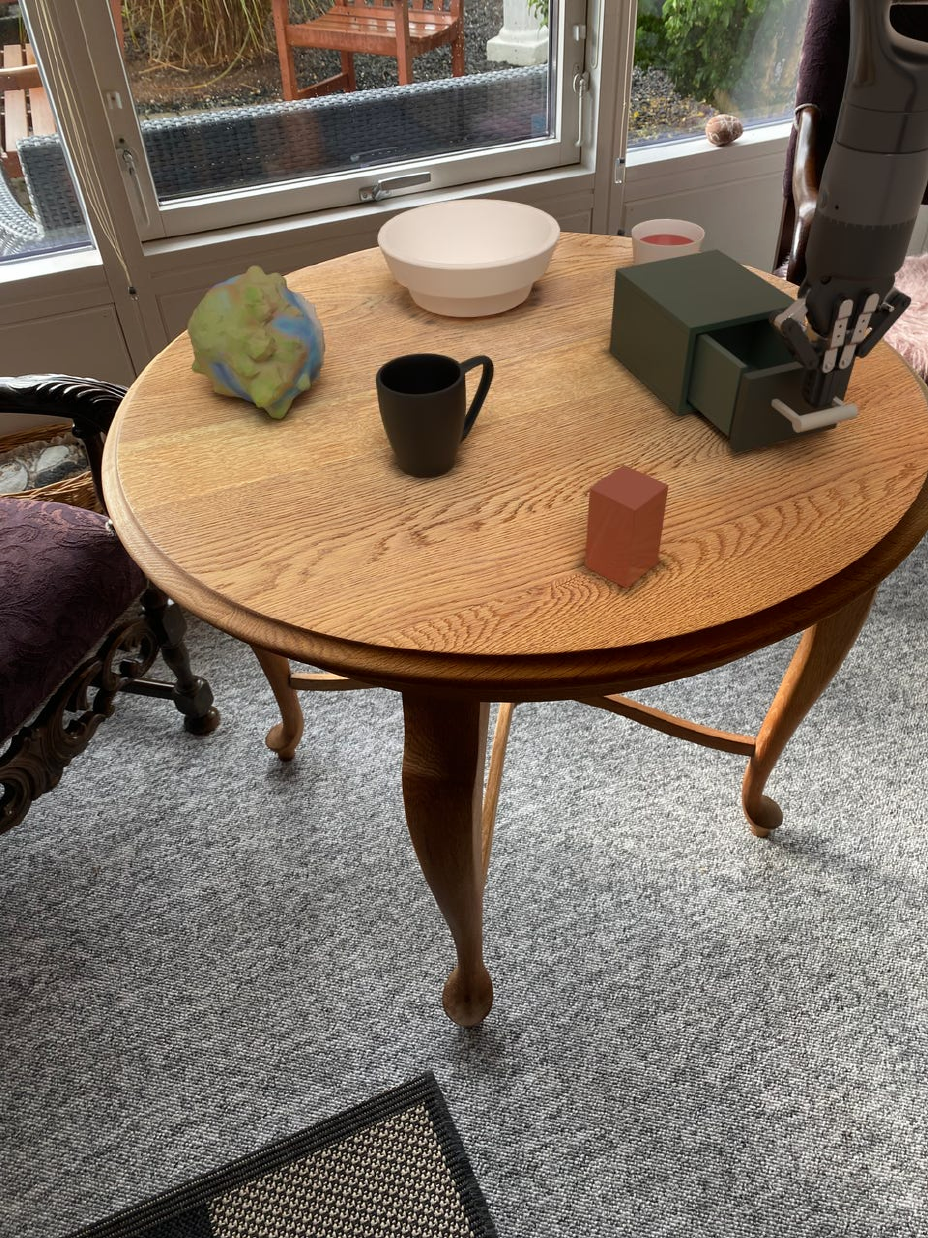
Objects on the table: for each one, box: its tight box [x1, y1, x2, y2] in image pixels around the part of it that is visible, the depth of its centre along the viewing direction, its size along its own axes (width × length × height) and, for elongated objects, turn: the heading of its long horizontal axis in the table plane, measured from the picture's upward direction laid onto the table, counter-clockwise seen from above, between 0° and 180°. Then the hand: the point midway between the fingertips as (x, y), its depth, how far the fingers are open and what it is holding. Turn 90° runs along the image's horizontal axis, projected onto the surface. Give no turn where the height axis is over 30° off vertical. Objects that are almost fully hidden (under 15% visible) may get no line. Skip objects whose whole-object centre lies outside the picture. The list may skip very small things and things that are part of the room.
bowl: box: [377, 198, 561, 318], centre depth 112 cm, size 22×22×8 cm
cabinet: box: [608, 248, 797, 417], centre depth 96 cm, size 16×13×10 cm
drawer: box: [687, 318, 859, 455], centre depth 87 cm, size 19×11×8 cm, turn 20°
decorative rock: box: [186, 264, 327, 419], centre depth 93 cm, size 14×16×15 cm
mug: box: [375, 352, 495, 479], centre depth 85 cm, size 8×12×10 cm
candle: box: [630, 218, 706, 266], centre depth 114 cm, size 9×9×6 cm
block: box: [583, 464, 669, 589], centre depth 73 cm, size 4×4×8 cm
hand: (817, 402), depth 81 cm, fingers closed
